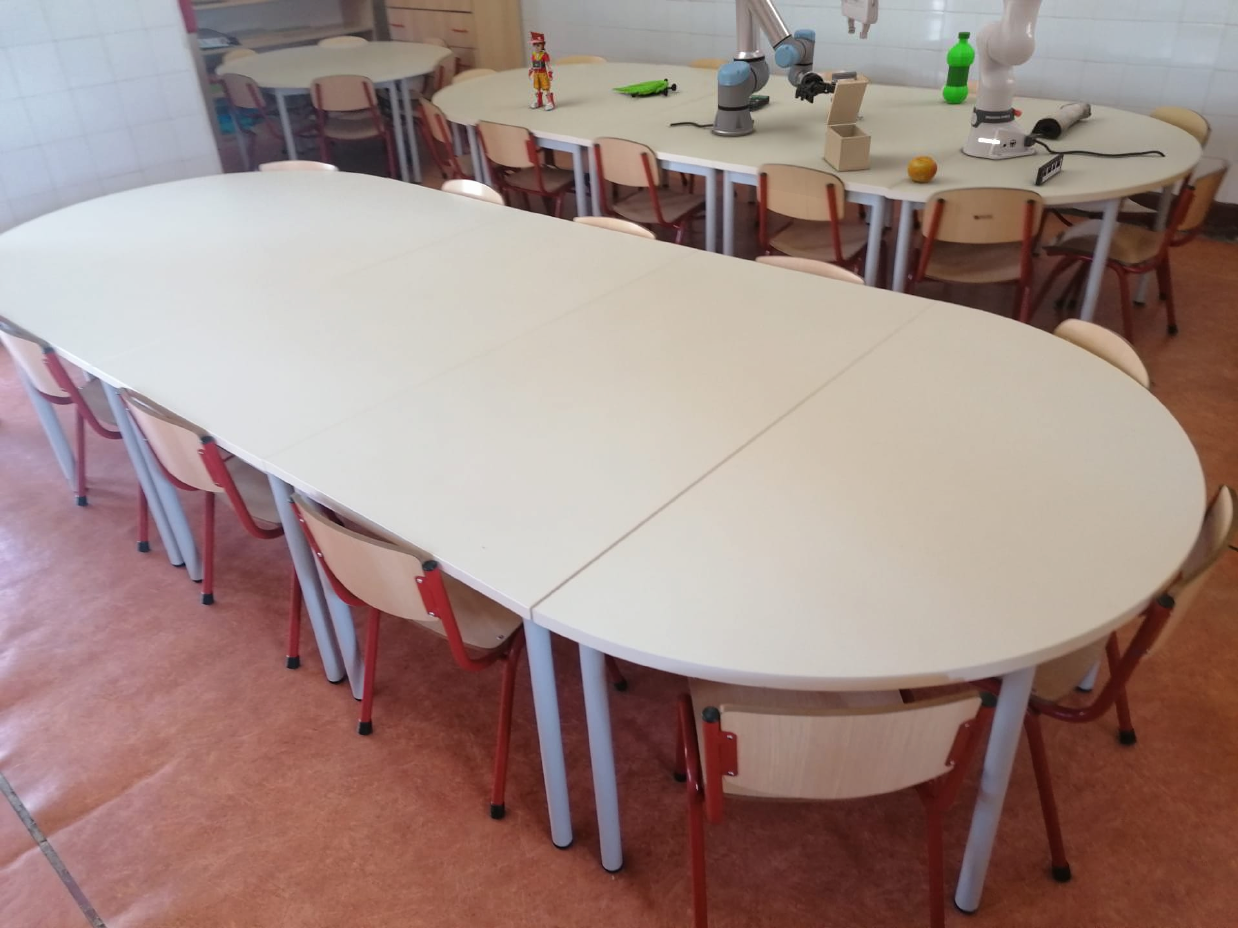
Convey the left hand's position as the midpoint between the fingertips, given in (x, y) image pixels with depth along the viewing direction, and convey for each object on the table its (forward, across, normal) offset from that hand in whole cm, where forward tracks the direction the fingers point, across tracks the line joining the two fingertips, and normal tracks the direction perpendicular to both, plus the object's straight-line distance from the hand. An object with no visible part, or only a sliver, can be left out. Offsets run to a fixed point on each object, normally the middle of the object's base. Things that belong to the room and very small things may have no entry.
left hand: (831, 98), depth 302 cm
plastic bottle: (-44, -69, -16) cm, 83 cm away
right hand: (+16, +1, +22) cm, 27 cm away
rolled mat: (+4, -85, -15) cm, 86 cm away
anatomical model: (-39, -22, -17) cm, 48 cm away
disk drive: (-68, +7, -19) cm, 71 cm away
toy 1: (-100, +89, -21) cm, 136 cm away
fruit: (+42, -15, -16) cm, 47 cm away
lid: (+14, 0, +1) cm, 14 cm away
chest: (+17, 0, -17) cm, 24 cm away
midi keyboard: (+52, -52, -15) cm, 75 cm away
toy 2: (-111, +44, -20) cm, 121 cm away
